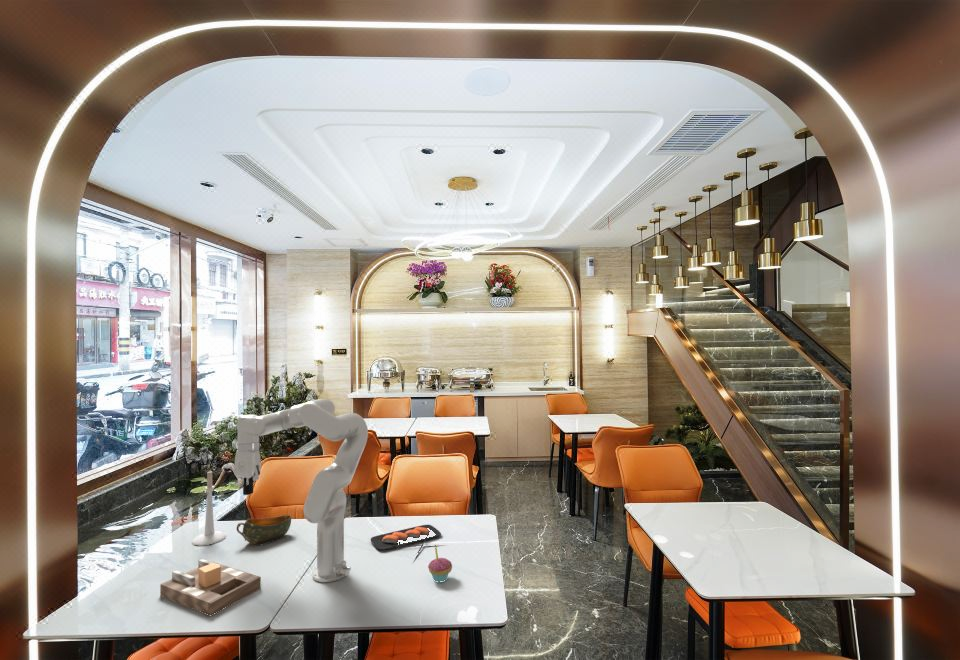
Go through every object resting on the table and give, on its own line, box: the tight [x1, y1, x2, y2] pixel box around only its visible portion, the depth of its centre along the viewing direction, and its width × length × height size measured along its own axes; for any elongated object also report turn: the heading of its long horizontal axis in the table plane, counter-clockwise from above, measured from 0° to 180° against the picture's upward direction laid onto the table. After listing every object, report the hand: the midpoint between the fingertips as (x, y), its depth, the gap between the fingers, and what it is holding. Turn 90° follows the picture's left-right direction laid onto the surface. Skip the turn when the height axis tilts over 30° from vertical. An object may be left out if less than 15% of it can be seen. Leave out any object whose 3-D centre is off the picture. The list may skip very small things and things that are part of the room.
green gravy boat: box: [236, 514, 292, 546], centre depth 200 cm, size 13×20×10 cm, turn 100°
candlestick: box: [191, 470, 227, 547], centre depth 201 cm, size 13×13×30 cm
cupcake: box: [427, 544, 453, 582], centre depth 165 cm, size 9×8×12 cm
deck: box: [159, 558, 262, 616], centre depth 158 cm, size 27×18×6 cm, turn 64°
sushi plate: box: [370, 524, 442, 554], centre depth 192 cm, size 29×30×4 cm
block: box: [198, 562, 221, 587], centre depth 157 cm, size 5×5×5 cm
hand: (248, 493), depth 178 cm, fingers closed
